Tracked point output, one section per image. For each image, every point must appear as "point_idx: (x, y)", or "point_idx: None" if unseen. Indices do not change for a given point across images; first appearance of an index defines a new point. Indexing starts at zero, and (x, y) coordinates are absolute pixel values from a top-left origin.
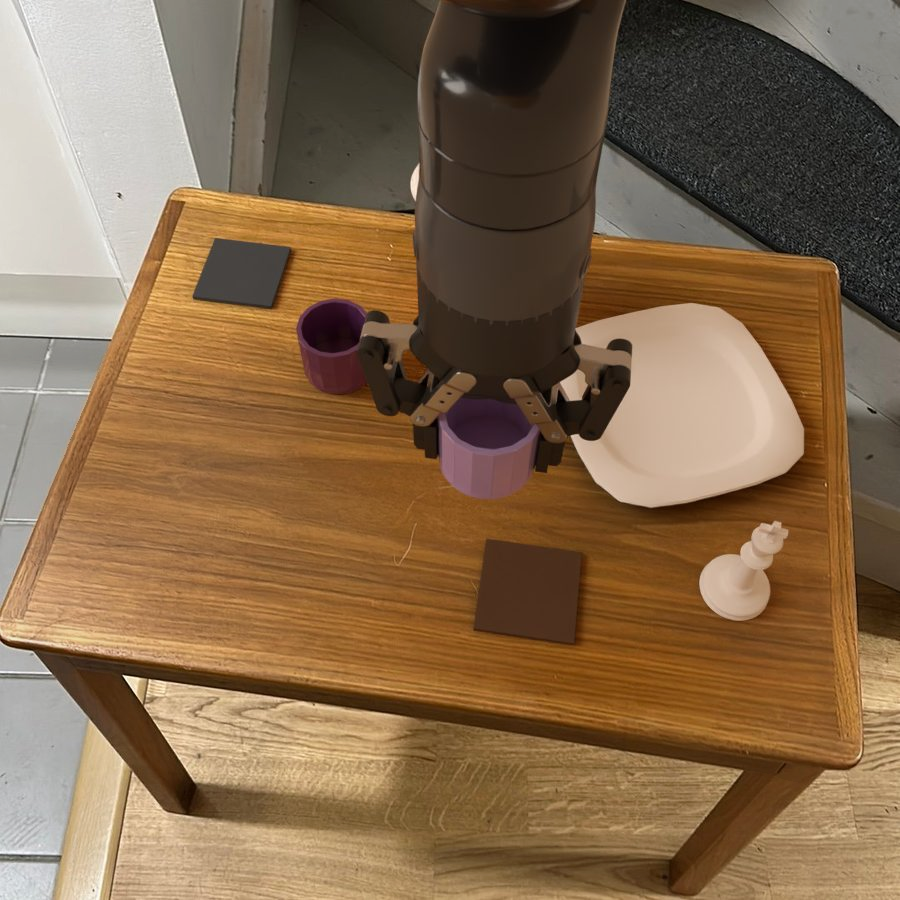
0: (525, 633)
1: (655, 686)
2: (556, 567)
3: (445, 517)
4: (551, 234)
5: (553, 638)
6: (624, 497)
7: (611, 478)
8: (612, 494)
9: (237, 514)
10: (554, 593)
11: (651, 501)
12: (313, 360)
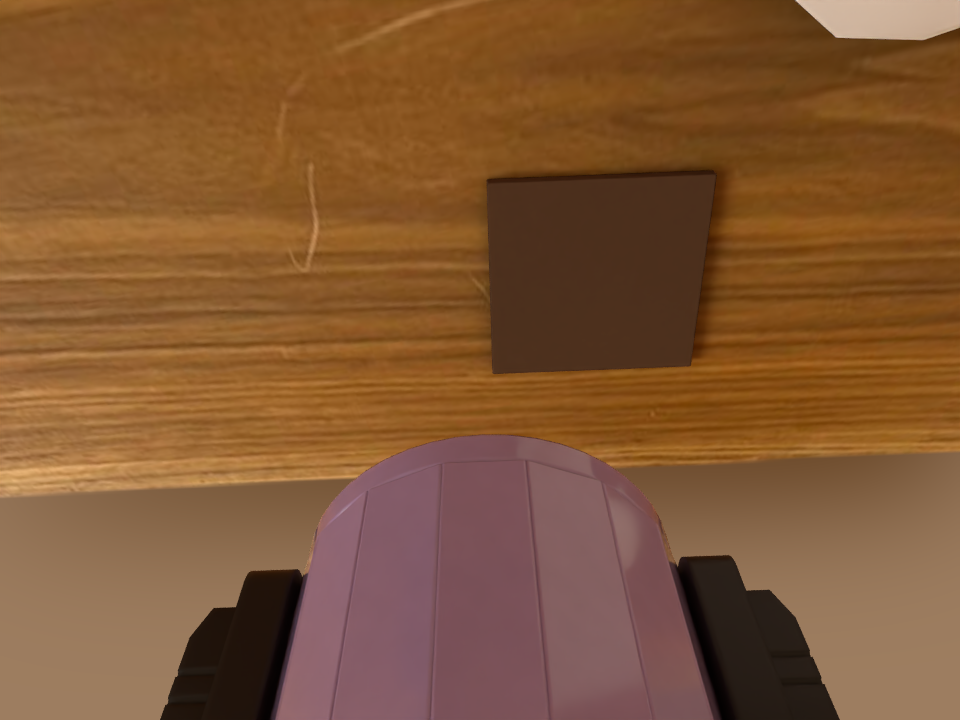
0: (594, 364)
1: (834, 399)
2: (656, 223)
3: (376, 134)
4: None
5: (650, 364)
6: (854, 25)
7: None
8: (820, 20)
9: None
10: (651, 281)
11: (930, 25)
12: None
